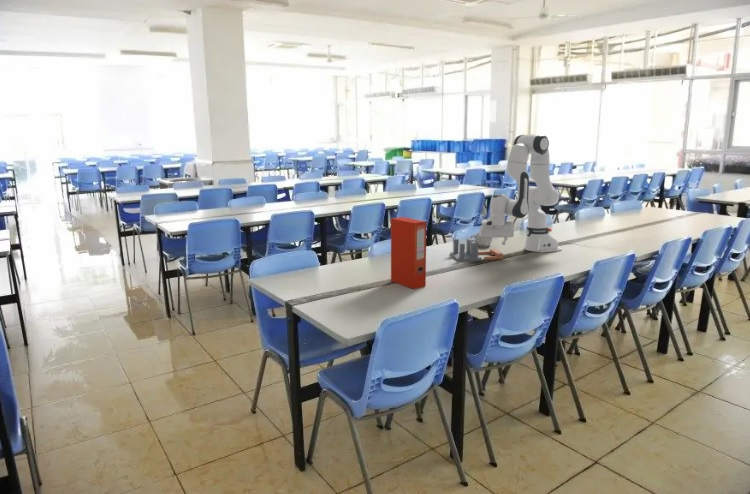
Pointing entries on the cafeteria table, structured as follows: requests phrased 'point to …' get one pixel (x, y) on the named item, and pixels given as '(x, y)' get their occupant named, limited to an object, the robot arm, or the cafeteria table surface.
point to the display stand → (470, 252)
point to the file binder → (408, 252)
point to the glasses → (493, 252)
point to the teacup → (481, 240)
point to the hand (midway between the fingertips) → (495, 244)
